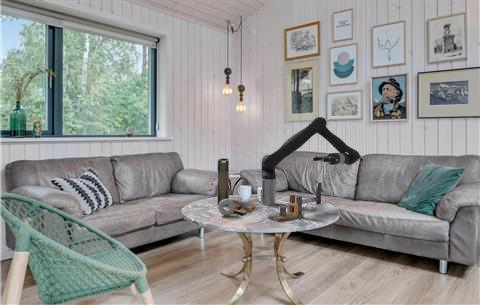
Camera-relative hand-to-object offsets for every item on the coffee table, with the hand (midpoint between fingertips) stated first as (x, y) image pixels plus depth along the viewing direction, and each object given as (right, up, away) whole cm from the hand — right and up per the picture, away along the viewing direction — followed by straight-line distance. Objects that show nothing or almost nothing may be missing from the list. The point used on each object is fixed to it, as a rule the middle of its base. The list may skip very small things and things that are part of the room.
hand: (318, 159), depth 221 cm
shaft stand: (-22, -33, -16) cm, 43 cm away
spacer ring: (-18, -31, -13) cm, 38 cm away
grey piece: (-7, -27, -5) cm, 29 cm away
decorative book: (-60, -30, +27) cm, 72 cm away
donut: (-56, -33, -12) cm, 66 cm away
